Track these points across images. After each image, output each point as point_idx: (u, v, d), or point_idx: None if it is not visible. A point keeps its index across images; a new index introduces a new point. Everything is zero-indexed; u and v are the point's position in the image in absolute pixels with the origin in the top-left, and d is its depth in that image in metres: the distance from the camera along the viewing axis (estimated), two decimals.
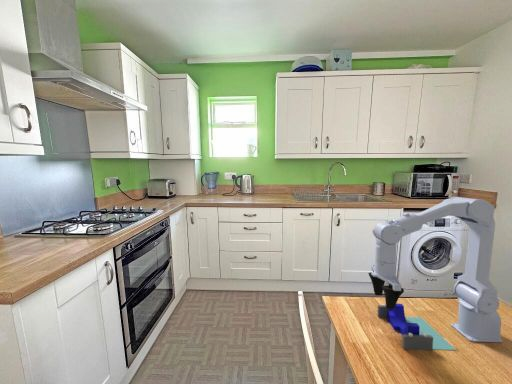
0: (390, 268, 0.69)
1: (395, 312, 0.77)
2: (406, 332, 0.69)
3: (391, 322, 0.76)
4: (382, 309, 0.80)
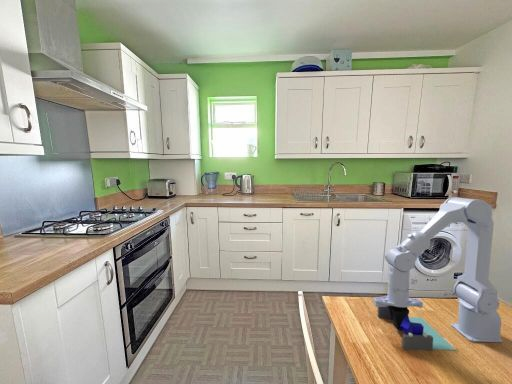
0: (389, 290, 0.73)
1: None
2: (410, 332, 0.69)
3: None
4: (382, 309, 0.80)
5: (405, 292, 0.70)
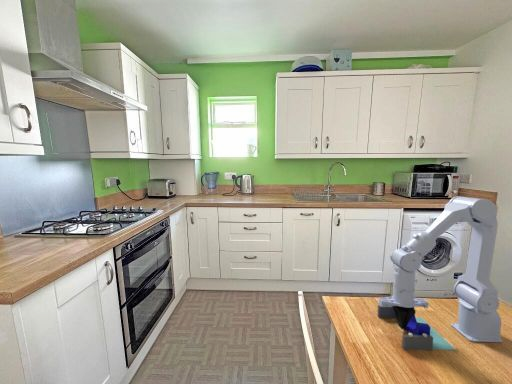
0: (394, 291, 0.73)
1: None
2: (416, 332, 0.68)
3: None
4: (382, 309, 0.80)
5: (411, 292, 0.70)
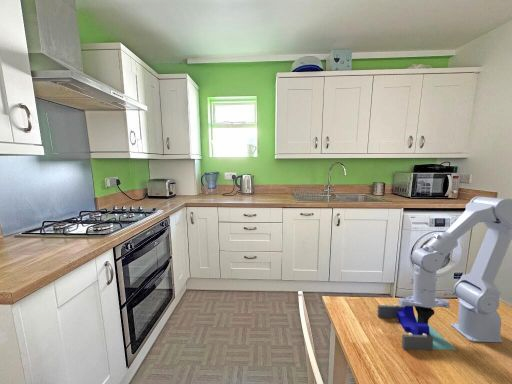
0: (415, 291, 0.72)
1: (405, 312, 0.77)
2: (416, 333, 0.68)
3: (401, 323, 0.76)
4: (382, 309, 0.80)
5: (432, 292, 0.69)
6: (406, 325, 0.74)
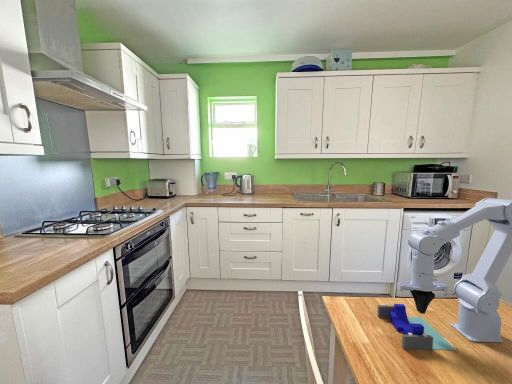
0: (413, 275, 0.72)
1: (397, 313, 0.77)
2: None
3: (394, 323, 0.76)
4: (382, 309, 0.80)
5: (430, 276, 0.69)
6: (399, 325, 0.74)
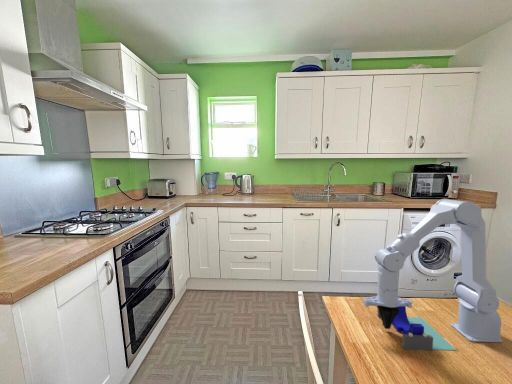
0: (378, 290, 0.73)
1: None
2: None
3: (394, 323, 0.76)
4: None
5: (394, 292, 0.70)
6: (399, 325, 0.74)
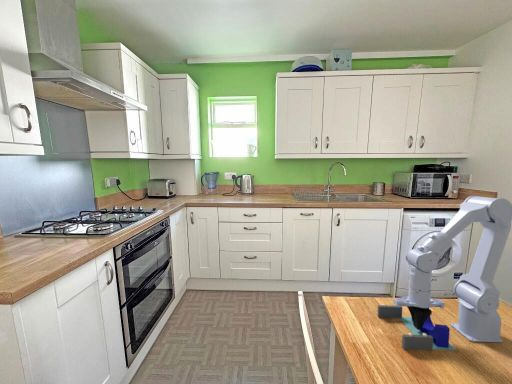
0: (410, 291, 0.72)
1: None
2: (435, 334, 0.68)
3: None
4: (382, 309, 0.80)
5: (427, 293, 0.69)
6: None
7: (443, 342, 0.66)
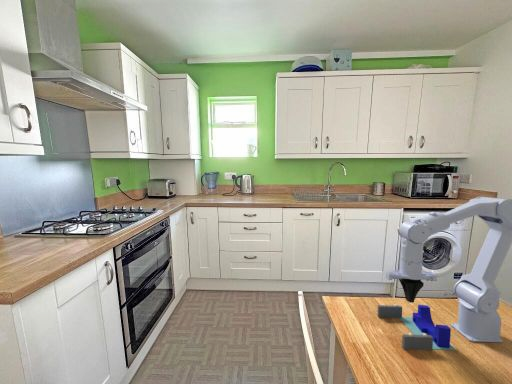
0: (402, 264, 0.72)
1: (421, 314, 0.76)
2: (436, 334, 0.67)
3: (417, 324, 0.75)
4: (382, 309, 0.80)
5: (419, 264, 0.69)
6: (423, 326, 0.73)
7: (444, 343, 0.66)
